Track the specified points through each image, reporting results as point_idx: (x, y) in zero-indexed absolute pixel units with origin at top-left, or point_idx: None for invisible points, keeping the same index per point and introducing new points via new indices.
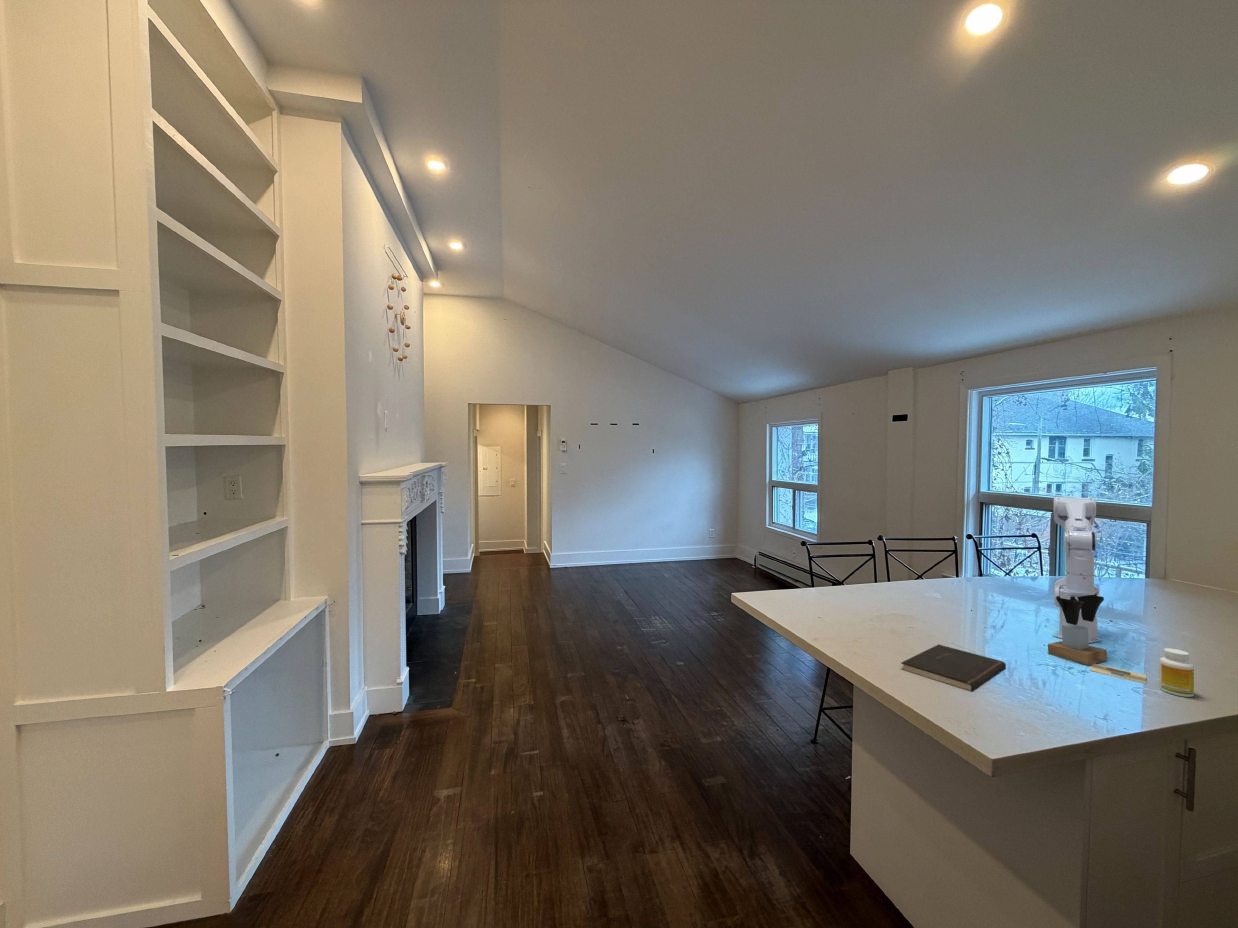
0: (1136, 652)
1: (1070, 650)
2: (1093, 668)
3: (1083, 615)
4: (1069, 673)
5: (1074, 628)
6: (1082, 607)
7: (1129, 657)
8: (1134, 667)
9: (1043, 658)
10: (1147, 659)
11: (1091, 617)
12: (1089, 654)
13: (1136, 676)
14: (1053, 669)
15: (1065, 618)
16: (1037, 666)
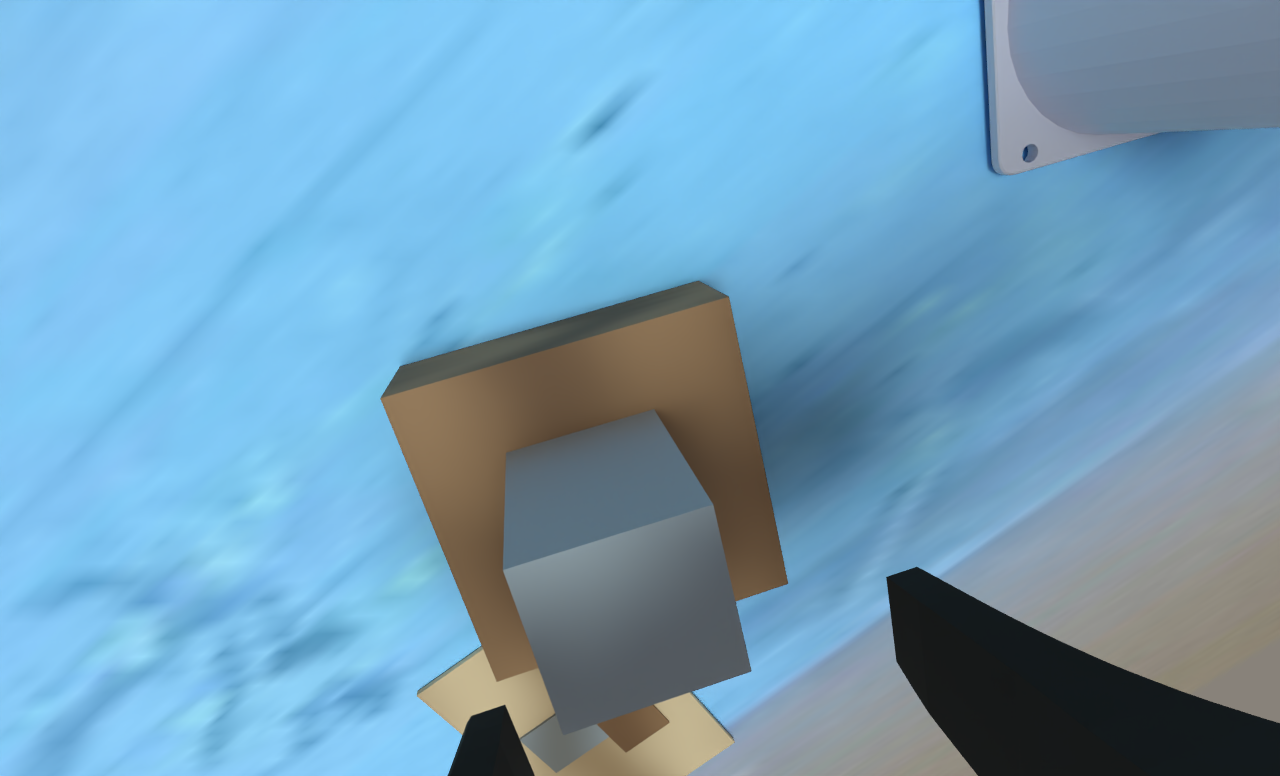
0: (1174, 372)
1: (455, 569)
2: (482, 666)
3: (927, 629)
4: (200, 738)
5: (547, 691)
6: (1039, 714)
7: (1005, 460)
8: (817, 623)
9: (248, 461)
10: (1073, 497)
11: (933, 709)
12: (526, 666)
13: (643, 763)
14: (124, 678)
15: (449, 771)
16: (15, 627)
